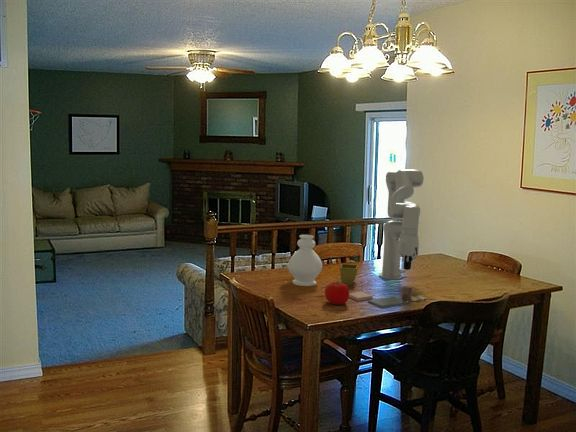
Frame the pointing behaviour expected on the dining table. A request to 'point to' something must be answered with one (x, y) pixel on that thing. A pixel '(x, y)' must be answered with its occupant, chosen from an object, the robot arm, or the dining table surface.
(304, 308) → the dining table surface
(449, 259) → the dining table surface
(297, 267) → the decorative vase
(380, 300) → the trivet
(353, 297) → the tile
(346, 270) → the flower pot
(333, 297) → the tomato
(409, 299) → the turner
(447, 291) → the dining table surface
